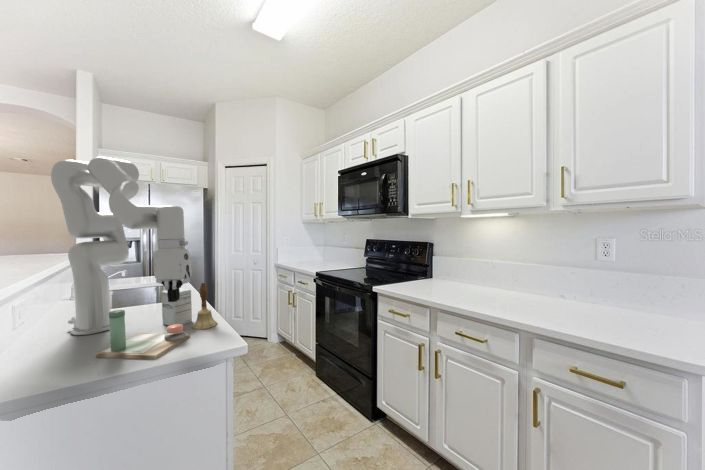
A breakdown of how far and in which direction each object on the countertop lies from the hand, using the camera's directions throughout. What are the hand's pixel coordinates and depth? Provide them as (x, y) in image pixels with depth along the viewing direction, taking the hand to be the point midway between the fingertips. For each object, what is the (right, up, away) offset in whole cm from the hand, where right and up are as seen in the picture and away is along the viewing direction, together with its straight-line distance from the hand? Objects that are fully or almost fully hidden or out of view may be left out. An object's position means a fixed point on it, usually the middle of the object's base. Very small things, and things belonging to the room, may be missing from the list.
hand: (173, 300), depth 99 cm
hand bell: (+3, -13, +15) cm, 20 cm away
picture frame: (-6, -13, -4) cm, 15 cm away
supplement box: (-9, -12, +18) cm, 23 cm away
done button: (0, -10, +1) cm, 10 cm away
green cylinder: (-11, -12, -8) cm, 19 cm away
